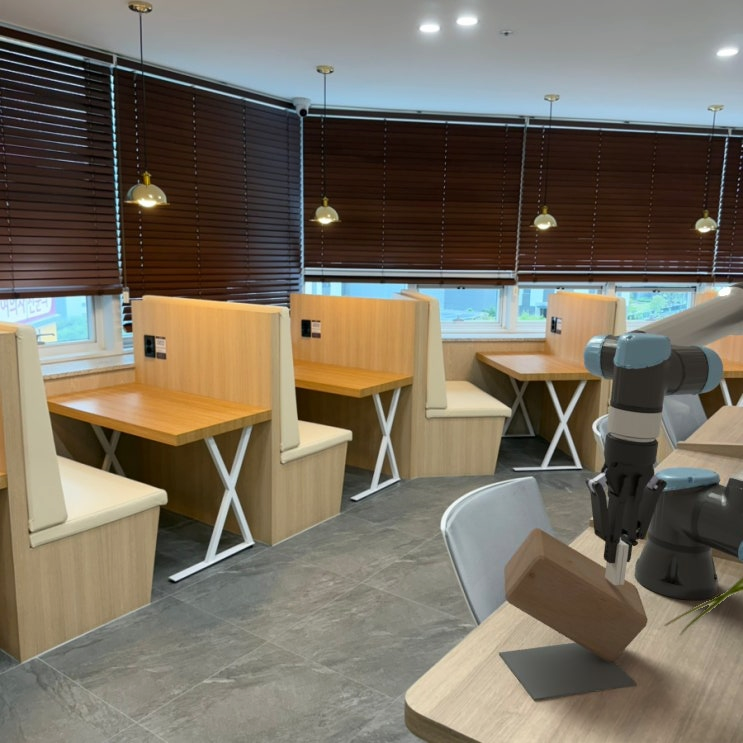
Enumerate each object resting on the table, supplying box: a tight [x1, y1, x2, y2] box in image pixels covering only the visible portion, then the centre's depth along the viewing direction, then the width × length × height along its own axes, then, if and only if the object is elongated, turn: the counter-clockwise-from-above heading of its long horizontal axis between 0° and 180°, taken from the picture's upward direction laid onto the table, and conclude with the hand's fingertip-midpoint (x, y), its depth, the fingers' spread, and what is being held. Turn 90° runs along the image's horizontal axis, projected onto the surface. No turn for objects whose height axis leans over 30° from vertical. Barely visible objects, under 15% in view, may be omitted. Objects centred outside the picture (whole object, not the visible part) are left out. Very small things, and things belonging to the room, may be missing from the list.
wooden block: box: [504, 527, 649, 662], centre depth 111 cm, size 10×10×20 cm
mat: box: [498, 642, 638, 701], centre depth 107 cm, size 17×12×1 cm
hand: (614, 580), depth 108 cm, fingers closed
